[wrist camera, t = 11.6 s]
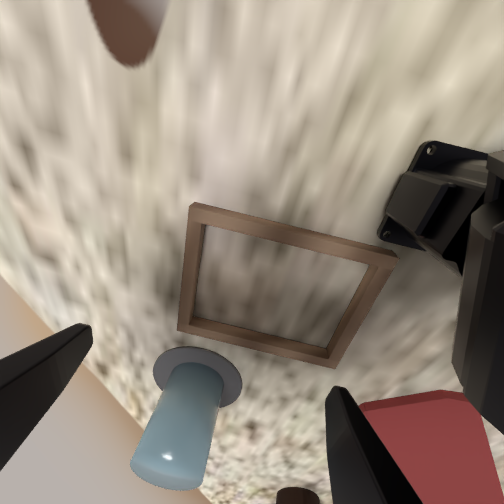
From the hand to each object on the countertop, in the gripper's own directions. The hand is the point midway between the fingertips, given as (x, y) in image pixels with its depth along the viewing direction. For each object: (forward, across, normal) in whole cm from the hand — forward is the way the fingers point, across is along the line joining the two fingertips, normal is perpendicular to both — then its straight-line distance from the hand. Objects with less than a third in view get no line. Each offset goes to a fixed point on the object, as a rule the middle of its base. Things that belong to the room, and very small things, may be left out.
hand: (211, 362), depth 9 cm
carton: (+12, -27, +23) cm, 37 cm away
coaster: (+11, +2, +18) cm, 21 cm away
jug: (+11, +2, +19) cm, 22 cm away
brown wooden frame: (+11, -3, +4) cm, 12 cm away
